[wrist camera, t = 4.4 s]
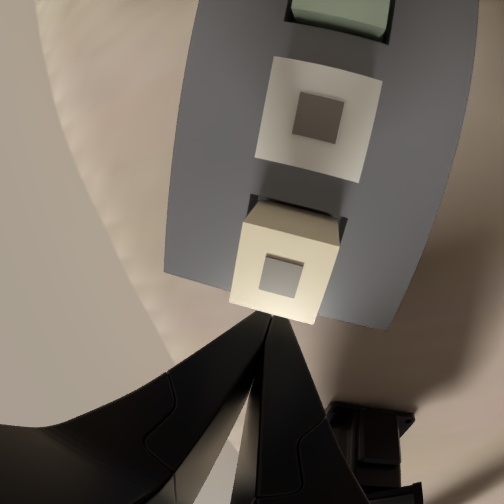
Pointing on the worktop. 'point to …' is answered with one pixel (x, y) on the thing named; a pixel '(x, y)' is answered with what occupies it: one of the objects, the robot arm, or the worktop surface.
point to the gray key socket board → (310, 182)
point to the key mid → (318, 118)
